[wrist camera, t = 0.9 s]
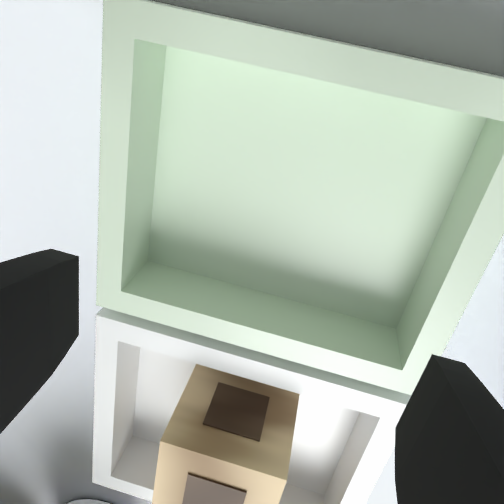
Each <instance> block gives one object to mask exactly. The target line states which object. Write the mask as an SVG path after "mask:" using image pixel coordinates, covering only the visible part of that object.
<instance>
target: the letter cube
mask: <svg viewBox="0 0 504 504" xmlns="http://www.w3.org/2000/svg"><path fill="white" fill-rule="evenodd" d="M298 401H299V394H298V393H295V392H291V391H288V390H284V389H281V388H277V387H274V386H271V385H267V384H264V383H260V382H257V381H254V380H250V379H247V378H243V377H240V376H236V375H233V374H230V373H226V372H223V371H219V370H216V369H213V368H209V367H206V366H202V365H199V364H196V366H195V368H194V370H193V372H192V374H191V376H190V378H189V380H188V383H187V385H186V387H185V389H184V391H183V393H182V395H181V397H180V400H179V402H178V404H177V406H176V408H175V410H174V412H173V414H172V417H171V419H170V421H169V423H168V425H167V427H166V429H165V431H164V434H163V436H162V438H161V440H160V445H159V453H158V460H157V468H156V476H155V483H154V491H153V499H152V504H279V501H280V499H281V496H282V493H283V490H284V487H285V485H286V482H287V477H288V470H289V463H290V456H291V449H292V442H293V436H294V429H295V422H296V415H297V408H298Z"/></svg>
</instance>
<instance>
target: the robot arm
mask: <svg viewBox="0 0 504 504" xmlns="http://www.w3.org/2000/svg"><path fill="white" fill-rule="evenodd" d="M78 335H79V256H75V255H72V254H68V253H64V252H61V251H57V250H54V249H49V250H44V251H39V252H36V253H32V254H28V255H25V256H21V257H18V258H14V259H11V260H8V261H4V262H1V263H0V434H1V432H2V431H3V430H4V429H5V428H6V427H7V426H8V425H9V423H10V422H11V421H12V420H13V419H14V418H15V417H16V416H17V414H18V413H19V412H20V411H21V410H22V409H23V408H24V406H25V405H26V404H27V403H28V402H29V401H30V400H31V398H32V397H33V396H34V395H35V394H36V393H37V392H38V390H39V389H40V388H41V387H42V386H43V385H44V383H45V382H46V381H47V380H48V379H49V378H50V376H51V375H52V374H53V372H54V371H55V370H56V368H57V367H58V365H59V364H60V362H61V361H62V359H63V358H64V357H65V355H66V354H67V352H68V350H69V349H70V347H71V346H72V344H73V343H74V341H75V340H76V338H77V337H78ZM395 484H396V493H397V502H398V504H504V409H503V408H502V407H501V406H500V404H499V403H498V402H497V401H496V399H495V398H494V397H493V396H492V394H491V393H490V392H489V391H488V390H487V388H486V387H485V386H484V385H483V383H482V382H481V381H480V380H479V379H478V378H477V376H476V375H475V374H474V373H473V372H472V371H471V370H470V368H469V367H468V366H467V365H466V364H465V363H462V362H459V361H455V360H451V359H448V358H444V357H441V356H437V355H433V354H432V355H431V357H430V359H429V361H428V363H427V365H426V367H425V369H424V371H423V373H422V375H421V377H420V379H419V381H418V383H417V385H416V387H415V389H414V391H413V393H412V395H411V397H410V399H409V401H408V403H407V405H406V407H405V409H404V411H403V413H402V415H401V417H400V419H399V421H398V423H397V425H396V427H395Z"/></svg>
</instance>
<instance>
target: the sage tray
mask: <svg viewBox="0 0 504 504" xmlns="http://www.w3.org/2000/svg"><path fill="white" fill-rule="evenodd" d="M503 234H504V77H503V76H498V75H494V74H489V73H485V72H480V71H475V70H471V69H466V68H461V67H457V66H452V65H448V64H443V63H438V62H434V61H429V60H424V59H420V58H415V57H411V56H406V55H401V54H397V53H392V52H387V51H383V50H378V49H374V48H369V47H364V46H360V45H355V44H350V43H346V42H341V41H337V40H332V39H327V38H323V37H318V36H313V35H309V34H304V33H299V32H295V31H290V30H286V29H281V28H276V27H272V26H267V25H262V24H258V23H253V22H249V21H244V20H239V19H235V18H230V17H225V16H221V15H216V14H212V13H207V12H202V11H198V10H193V9H188V8H184V7H179V6H175V5H170V4H165V3H161V2H156V1H151V0H103V36H102V79H101V122H100V165H99V208H98V251H97V293H96V305H97V306H101V307H104V308H108V309H111V310H115V311H118V312H122V313H125V314H129V315H132V316H136V317H139V318H143V319H146V320H150V321H153V322H157V323H160V324H164V325H167V326H171V327H174V328H178V329H181V330H185V331H188V332H192V333H195V334H199V335H202V336H206V337H209V338H213V339H216V340H219V341H223V342H226V343H230V344H233V345H237V346H240V347H244V348H247V349H251V350H254V351H258V352H261V353H265V354H268V355H272V356H275V357H279V358H282V359H286V360H289V361H293V362H296V363H300V364H303V365H307V366H310V367H314V368H317V369H321V370H324V371H328V372H331V373H335V374H338V375H342V376H345V377H349V378H352V379H356V380H359V381H363V382H366V383H370V384H373V385H377V386H380V387H384V388H387V389H391V390H394V391H398V392H401V393H405V394H408V395H412V393H413V391H414V389H415V387H416V385H417V383H418V381H419V379H420V377H421V375H422V373H423V371H424V369H425V367H426V365H427V363H428V361H429V359H430V357H431V355H432V354H433V355H437V356H441V355H442V353H443V351H444V349H445V348H446V346H447V344H448V342H449V340H450V338H451V336H452V334H453V332H454V330H455V328H456V326H457V324H458V322H459V320H460V318H461V316H462V314H463V312H464V310H465V308H466V307H467V305H468V303H469V301H470V299H471V297H472V295H473V293H474V291H475V289H476V287H477V285H478V283H479V281H480V279H481V277H482V275H483V273H484V271H485V269H486V267H487V266H488V264H489V262H490V260H491V258H492V256H493V254H494V252H495V250H496V248H497V246H498V244H499V242H500V240H501V238H502V236H503Z"/></svg>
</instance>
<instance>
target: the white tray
mask: <svg viewBox="0 0 504 504" xmlns="http://www.w3.org/2000/svg"><path fill="white" fill-rule="evenodd" d="M196 364H199V365H202V366H206V367H209V368H213V369H216V370H219V371H223V372H226V373H230V374H233V375H236V376H240V377H243V378H247V379H250V380H254V381H257V382H260V383H264V384H267V385H271V386H274V387H277V388H281V389H284V390H288V391H291V392H295V393H298V394H299V401H298V408H297V415H296V422H295V429H294V436H293V442H292V449H291V456H290V463H289V470H288V477H287V482H286V485H285V487H284V490H283V493H282V496H281V499H280V501H279V504H366V502H367V500H368V498H369V496H370V494H371V492H372V490H373V488H374V486H375V484H376V482H377V480H378V478H379V476H380V474H381V472H382V470H383V469H384V467H385V465H386V463H387V461H388V459H389V457H390V455H391V453H392V451H393V449H394V447H395V427H396V425H397V423H398V421H399V419H400V417H401V415H402V413H403V411H404V409H405V407H406V405H407V403H408V401H409V399H410V397H411V395H408V394H405V393H401V392H398V391H394V390H391V389H387V388H384V387H380V386H377V385H373V384H370V383H366V382H363V381H359V380H356V379H352V378H349V377H345V376H342V375H338V374H335V373H331V372H328V371H324V370H321V369H317V368H314V367H310V366H307V365H303V364H300V363H296V362H293V361H289V360H286V359H282V358H279V357H275V356H272V355H268V354H265V353H261V352H258V351H254V350H251V349H247V348H244V347H240V346H237V345H233V344H230V343H226V342H223V341H219V340H216V339H213V338H209V337H206V336H202V335H199V334H195V333H192V332H188V331H185V330H181V329H178V328H174V327H171V326H167V325H164V324H160V323H157V322H153V321H150V320H146V319H143V318H139V317H136V316H132V315H129V314H125V313H122V312H118V311H115V310H111V309H108V308H104V307H103V308H102V309H101V310H100V311H99V312H98V313H97V315H96V336H95V379H94V422H93V465H92V483H95V484H98V485H101V486H104V487H107V488H110V489H113V490H116V491H120V492H123V493H126V494H129V495H132V496H135V497H138V498H141V499H144V500H147V501H150V502H152V499H153V491H154V483H155V476H156V468H157V460H158V453H159V445H160V440H161V438H162V436H163V434H164V431H165V429H166V427H167V425H168V423H169V421H170V419H171V417H172V414H173V412H174V410H175V408H176V406H177V404H178V402H179V400H180V397H181V395H182V393H183V391H184V389H185V387H186V385H187V383H188V380H189V378H190V376H191V374H192V372H193V370H194V368H195V366H196Z"/></svg>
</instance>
